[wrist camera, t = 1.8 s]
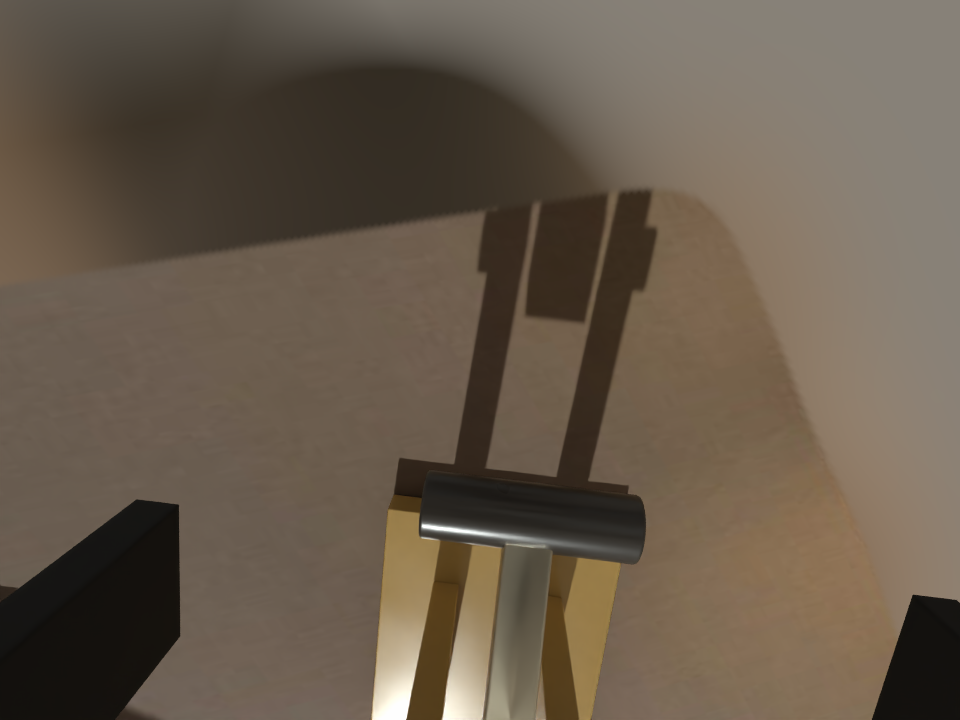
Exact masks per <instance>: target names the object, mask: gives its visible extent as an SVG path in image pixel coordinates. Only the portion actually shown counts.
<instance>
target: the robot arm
mask: <svg viewBox="0 0 960 720" xmlns="http://www.w3.org/2000/svg"><path fill="white" fill-rule="evenodd" d="M179 637H180V573H179V505H178V504H169V503H161V502H153V501H145V500H135V501H134V502H133V503H131V504H130V505H129V506H127V507H126V508H125V509H123V510H122V511H121V512H119V513H118V514H117V515H115V516H114V517H113V518H111V519H110V520H109V521H108V522H106V523H105V524H104V525H102V526H101V527H100V528H98V529H97V530H96V531H94V532H93V533H92V534H90V535H89V536H88V537H86V538H85V539H84V540H82V541H81V542H80V543H78V544H77V545H76V546H74V547H73V548H72V549H70V550H69V551H68V552H66V553H65V554H64V555H63V556H61V557H60V558H59V559H57V560H56V561H55V562H53V563H52V564H51V565H49V566H48V567H47V568H45V569H44V570H43V571H41V572H40V573H39V574H37V575H36V576H35V577H33V578H32V579H31V580H29V581H28V582H27V583H25V584H24V585H23V586H21V587H20V588H19V589H18V590H16V591H15V592H14V593H12V594H11V595H10V596H8V597H7V598H6V599H4V600H3V601H2V602H0V720H115V719H116V718H117V716H118V715H119V714H120V712H121V711H122V710H123V709H124V707H125V706H126V705H127V703H128V702H129V701H130V700H131V698H132V697H133V696H134V694H135V693H136V692H137V691H138V689H139V688H140V687H141V686H142V684H143V683H144V682H145V680H146V679H147V678H148V677H149V675H150V674H151V673H152V671H153V670H154V669H155V668H156V666H157V665H158V664H159V663H160V661H161V660H162V659H163V657H164V656H165V655H166V654H167V652H168V651H169V650H170V648H171V647H172V646H173V645H174V643H175V642H176V641H177V640H178V638H179ZM872 720H960V603H959V602H958V601H957V600H952V599H944V598H935V597H928V596H919V595H913V596H912V599H911V602H910V605H909V608H908V611H907V614H906V617H905V620H904V623H903V626H902V629H901V632H900V635H899V638H898V641H897V644H896V648H895V651H894V654H893V657H892V660H891V663H890V666H889V669H888V672H887V675H886V678H885V681H884V684H883V687H882V690H881V693H880V696H879V699H878V702H877V706H876V709H875V712H874V715H873V718H872Z"/></svg>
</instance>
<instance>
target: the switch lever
mask: <svg viewBox="0 0 960 720" xmlns="http://www.w3.org/2000/svg"><path fill="white" fill-rule="evenodd" d="M645 533H646V518H645V510H644V505H643V502H642V500H641V498H640V497H639V496H637V495H631V494H623V493H615V492H607V491H599V490H591V489H582V488H574V487H566V486H558V485H550V484H542V483H533V482H525V481H517V480H509V479H501V478H493V477H484V476H476V475H468V474H460V473H452V472H444V471H435V470H430V471H428V473H427V475H426V479H425V483H424V488H423V494H422V500H421V508H420V516H419V537H421V538H423V539H431V540H439V541H448V542H456V543H464V544H472V545H480V546H488V547H496V548H501V557H500V566H499V575H498V584H497V592H496V601H495V610H494V619H493V628H492V637H491V645H490V654H489V663H488V672H487V681H486V690H485V699H484V707H483V716H482V720H535V718H536V708H537V698H538V689H539V679H540V670H541V660H542V650H543V641H544V631H545V622H546V612H547V602H548V593H549V583H550V574H551V564H552V555H560V556H568V557H576V558H584V559H592V560H600V561H609V562H617V563H625V564H636V563H637V562H638V561H639V559H640V557H641V555H642V552H643V548H644V542H645Z"/></svg>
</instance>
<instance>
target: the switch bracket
mask: <svg viewBox="0 0 960 720" xmlns="http://www.w3.org/2000/svg"><path fill="white" fill-rule="evenodd" d="M421 500H422V498H418V497H410V496H402V495H393V498H392V500H391V503H390V505H389V508H388V514H387V526H386V538H385V551H384V563H383V576H382V588H381V600H380V613H379V625H378V638H377V650H376V662H375V675H374V687H373V700H372V712H371V720H482V716H483V707H484V699H485V690H486V681H487V672H488V663H489V654H490V645H491V637H492V628H493V619H494V610H495V601H496V592H497V584H498V575H499V566H500V557H501V548H496V547H488V546H480V545H472V544H464V543H456V542H448V541H439V540H431V539H423V538H421V537H419V516H420V508H421ZM620 567H621V563H617V562H609V561H600V560H592V559H584V558H576V557H568V556H560V555H552V564H551V574H550V583H549V593H548V602H547V612H546V622H545V631H544V641H543V650H542V660H541V670H540V679H539V689H538V698H537V708H536V718H535V720H591V717H592V712H593V706H594V701H595V696H596V691H597V686H598V681H599V675H600V670H601V665H602V660H603V655H604V649H605V644H606V639H607V634H608V629H609V624H610V618H611V613H612V608H613V603H614V598H615V593H616V587H617V582H618V577H619V572H620Z"/></svg>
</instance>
